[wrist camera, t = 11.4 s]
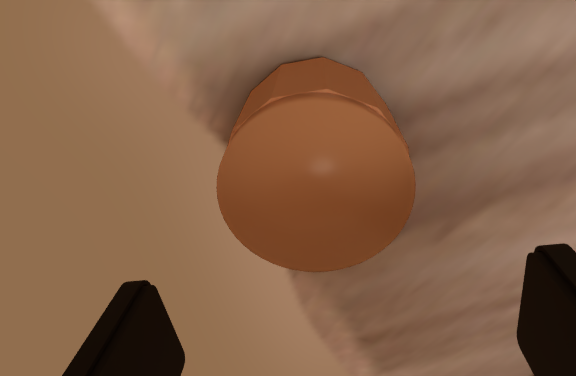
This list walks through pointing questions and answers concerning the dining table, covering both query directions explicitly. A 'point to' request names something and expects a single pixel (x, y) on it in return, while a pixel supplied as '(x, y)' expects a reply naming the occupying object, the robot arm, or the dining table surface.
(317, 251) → the orange short cylinder
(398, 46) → the dining table surface
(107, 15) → the dining table surface
